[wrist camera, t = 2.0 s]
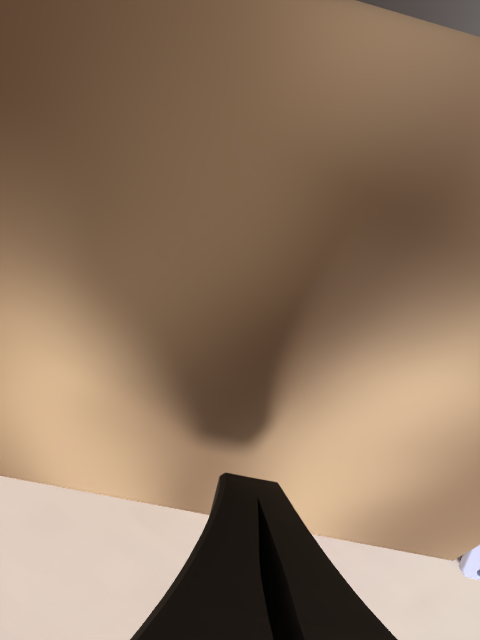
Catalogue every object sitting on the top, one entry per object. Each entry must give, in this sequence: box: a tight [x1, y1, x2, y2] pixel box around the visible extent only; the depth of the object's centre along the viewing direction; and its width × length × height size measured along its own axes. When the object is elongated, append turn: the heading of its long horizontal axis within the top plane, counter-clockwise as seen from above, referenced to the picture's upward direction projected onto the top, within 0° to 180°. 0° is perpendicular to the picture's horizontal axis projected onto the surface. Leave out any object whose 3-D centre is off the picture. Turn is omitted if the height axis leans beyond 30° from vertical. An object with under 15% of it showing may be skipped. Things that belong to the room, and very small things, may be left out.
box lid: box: [0, 0, 480, 561], centre depth 10 cm, size 17×15×1 cm
